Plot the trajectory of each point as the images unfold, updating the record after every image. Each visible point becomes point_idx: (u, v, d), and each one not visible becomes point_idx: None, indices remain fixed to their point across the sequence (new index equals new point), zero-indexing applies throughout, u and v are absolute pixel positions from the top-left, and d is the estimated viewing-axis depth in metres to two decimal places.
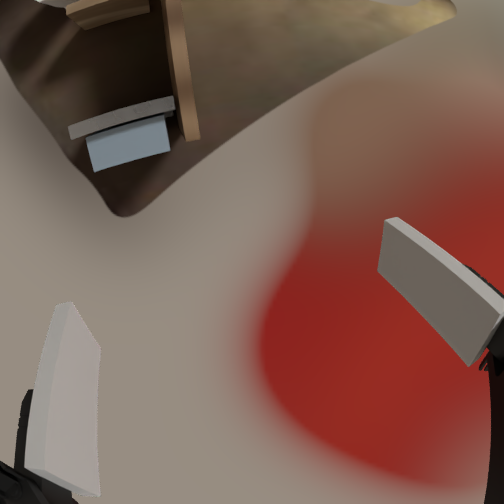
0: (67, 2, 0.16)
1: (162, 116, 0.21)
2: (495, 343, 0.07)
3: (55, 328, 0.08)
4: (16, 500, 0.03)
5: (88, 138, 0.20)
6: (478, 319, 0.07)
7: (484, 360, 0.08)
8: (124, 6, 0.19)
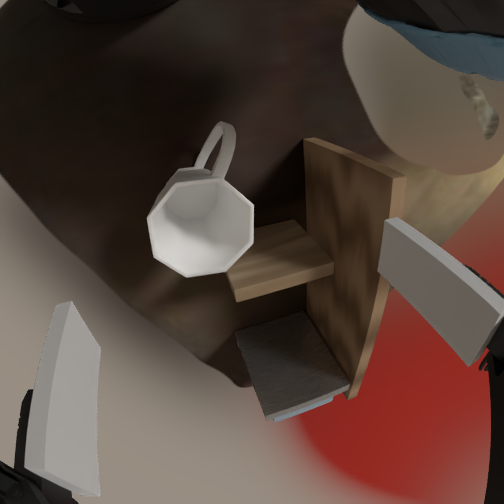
0: None
1: None
2: (495, 343, 0.07)
3: (55, 328, 0.08)
4: (16, 500, 0.03)
5: None
6: (478, 319, 0.07)
7: (484, 360, 0.08)
8: None
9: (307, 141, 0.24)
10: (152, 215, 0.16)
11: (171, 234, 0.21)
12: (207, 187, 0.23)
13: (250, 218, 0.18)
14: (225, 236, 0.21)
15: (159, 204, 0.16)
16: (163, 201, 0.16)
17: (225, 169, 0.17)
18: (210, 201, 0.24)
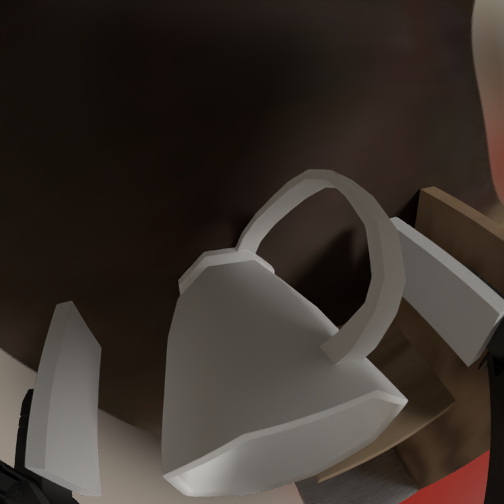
0: None
1: None
2: (495, 343, 0.07)
3: (55, 328, 0.08)
4: (16, 500, 0.03)
5: None
6: (478, 319, 0.07)
7: (484, 360, 0.08)
8: None
9: (431, 197, 0.12)
10: (176, 474, 0.05)
11: None
12: None
13: (389, 418, 0.07)
14: None
15: (193, 464, 0.04)
16: (205, 461, 0.04)
17: (373, 345, 0.06)
18: None
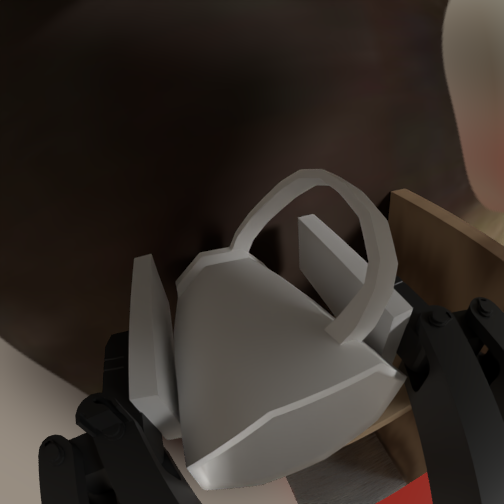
0: None
1: None
2: (405, 356, 0.08)
3: (140, 275, 0.10)
4: (111, 441, 0.05)
5: None
6: None
7: None
8: None
9: (400, 198, 0.14)
10: (201, 464, 0.05)
11: None
12: None
13: (390, 395, 0.07)
14: None
15: (219, 451, 0.05)
16: (232, 445, 0.05)
17: (373, 324, 0.06)
18: None
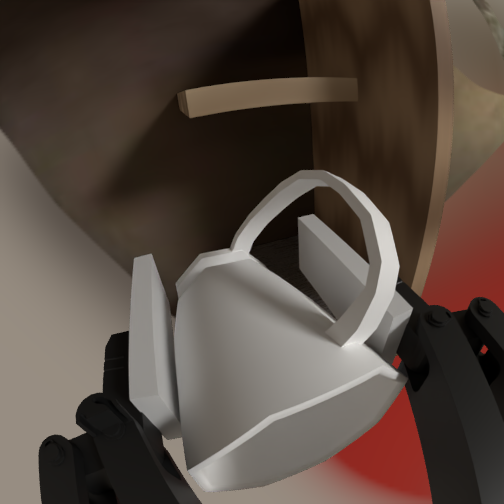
0: None
1: None
2: (405, 356, 0.08)
3: (140, 275, 0.10)
4: (111, 441, 0.05)
5: None
6: None
7: None
8: None
9: None
10: (202, 467, 0.05)
11: None
12: None
13: (392, 397, 0.07)
14: None
15: (220, 454, 0.05)
16: (233, 449, 0.05)
17: (374, 326, 0.06)
18: None
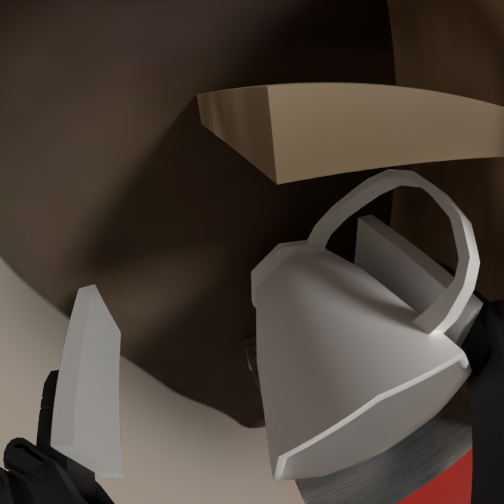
0: None
1: None
2: (470, 344, 0.07)
3: (79, 309, 0.09)
4: (39, 481, 0.04)
5: None
6: None
7: None
8: None
9: None
10: (294, 452, 0.05)
11: None
12: None
13: (455, 388, 0.07)
14: None
15: (320, 437, 0.05)
16: (334, 431, 0.05)
17: (456, 317, 0.06)
18: None
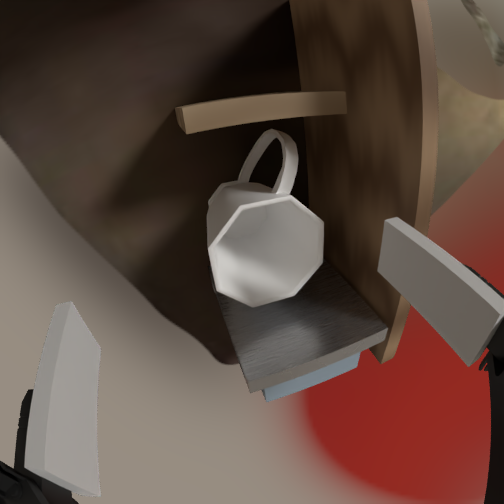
0: None
1: None
2: (495, 343, 0.07)
3: (54, 328, 0.08)
4: (16, 500, 0.03)
5: None
6: (478, 319, 0.07)
7: (484, 360, 0.08)
8: None
9: None
10: (214, 245, 0.14)
11: (227, 259, 0.19)
12: None
13: (319, 236, 0.16)
14: (286, 256, 0.19)
15: (222, 231, 0.14)
16: (227, 227, 0.14)
17: (290, 184, 0.15)
18: (260, 216, 0.22)
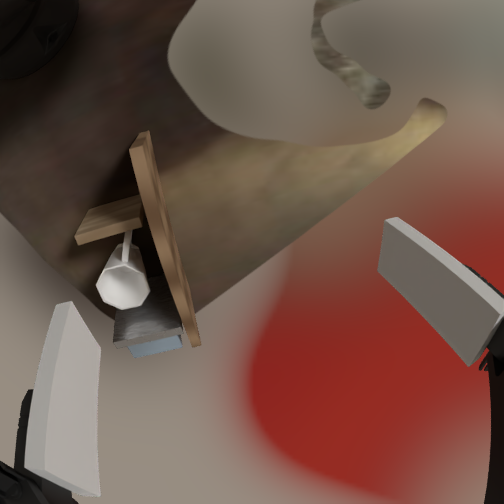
0: None
1: None
2: (495, 343, 0.07)
3: (55, 328, 0.08)
4: (16, 500, 0.03)
5: None
6: (478, 319, 0.07)
7: (484, 360, 0.08)
8: None
9: (139, 134, 0.31)
10: (97, 283, 0.31)
11: (115, 286, 0.36)
12: None
13: (144, 279, 0.33)
14: (141, 285, 0.36)
15: (99, 279, 0.31)
16: (100, 277, 0.31)
17: (127, 257, 0.32)
18: None
